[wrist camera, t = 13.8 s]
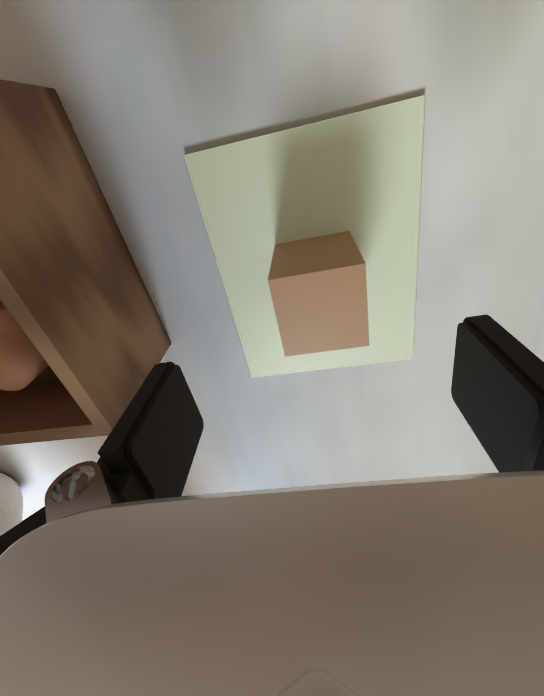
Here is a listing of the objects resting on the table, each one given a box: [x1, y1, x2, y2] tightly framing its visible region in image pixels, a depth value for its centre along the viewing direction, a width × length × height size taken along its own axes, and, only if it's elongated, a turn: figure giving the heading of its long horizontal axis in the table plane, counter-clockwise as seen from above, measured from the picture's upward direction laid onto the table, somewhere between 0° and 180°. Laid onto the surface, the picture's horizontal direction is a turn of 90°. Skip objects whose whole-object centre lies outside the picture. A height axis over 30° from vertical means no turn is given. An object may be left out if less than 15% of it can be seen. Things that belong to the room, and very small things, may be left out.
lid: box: [183, 95, 425, 378], centre depth 17 cm, size 14×11×6 cm
